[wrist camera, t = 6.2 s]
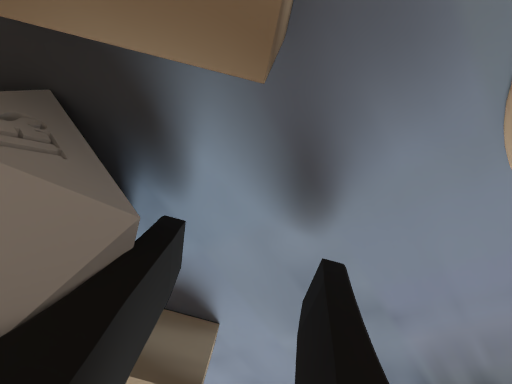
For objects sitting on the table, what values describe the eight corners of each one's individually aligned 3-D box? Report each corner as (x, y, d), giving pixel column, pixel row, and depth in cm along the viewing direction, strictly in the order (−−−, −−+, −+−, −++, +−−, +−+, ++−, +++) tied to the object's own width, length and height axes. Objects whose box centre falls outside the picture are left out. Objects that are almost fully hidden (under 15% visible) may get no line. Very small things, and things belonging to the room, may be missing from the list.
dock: (215, 342, 17) (194, 412, 14) (-56, 267, 17) (-120, 323, 15) (302, -38, 8) (285, -17, 5) (-285, -182, 8) (-548, -223, 6)
